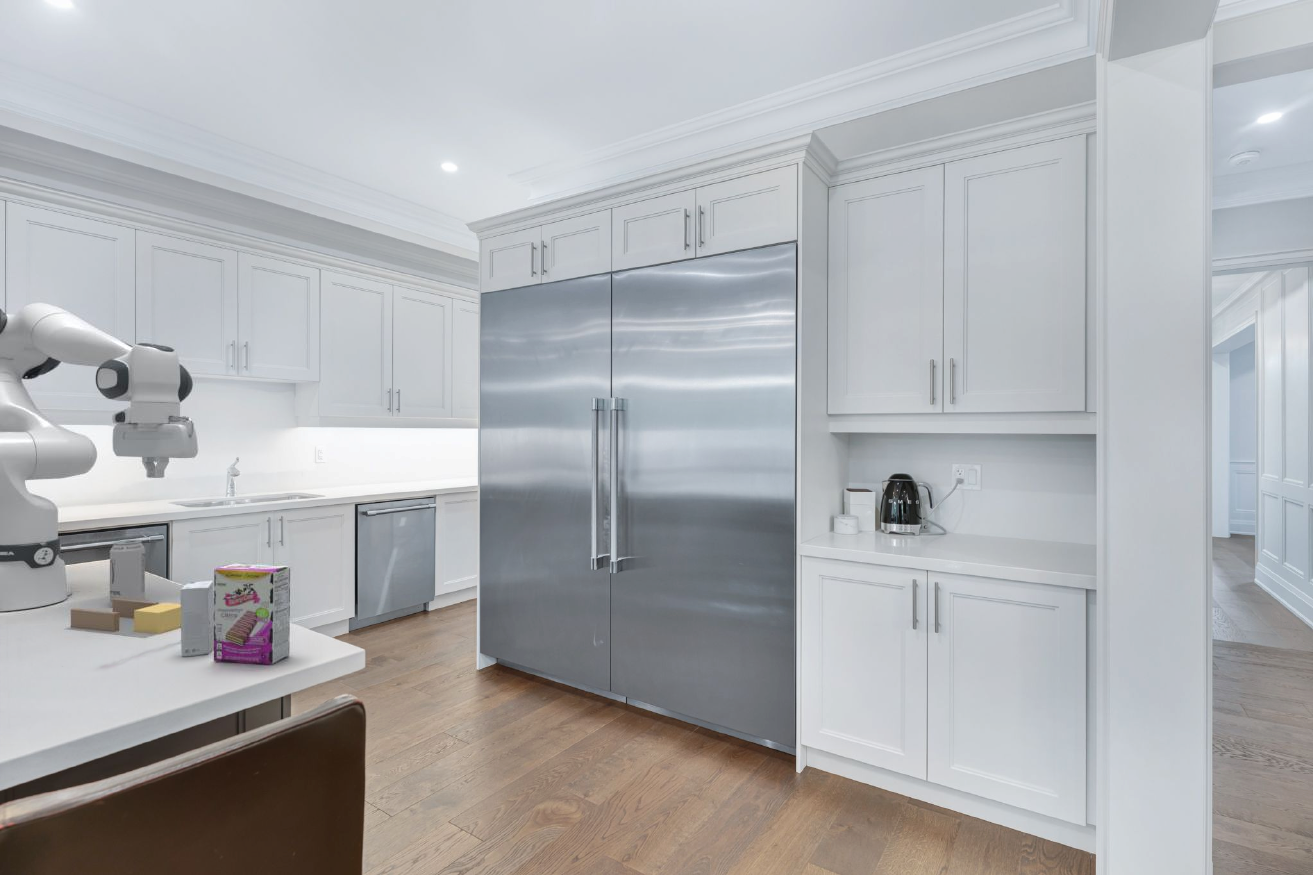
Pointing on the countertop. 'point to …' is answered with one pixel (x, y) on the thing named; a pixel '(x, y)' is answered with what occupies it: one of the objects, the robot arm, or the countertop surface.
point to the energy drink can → (127, 570)
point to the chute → (111, 618)
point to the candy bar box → (251, 613)
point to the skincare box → (197, 618)
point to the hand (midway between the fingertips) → (155, 477)
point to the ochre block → (158, 618)
